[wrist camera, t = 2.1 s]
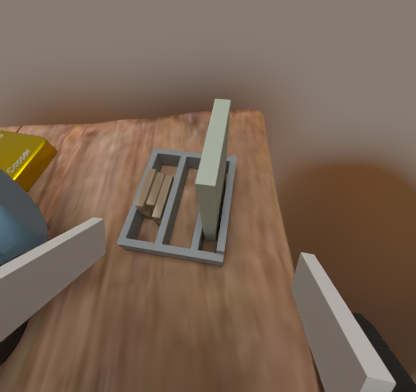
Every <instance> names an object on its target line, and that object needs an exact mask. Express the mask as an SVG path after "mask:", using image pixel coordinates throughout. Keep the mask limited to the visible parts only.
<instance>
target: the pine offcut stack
mask: <svg viewBox="0 0 416 392" xmlns="http://www.w3.org/2000/svg"><path fill="white" fill-rule="evenodd" d="M173 181H174V178H173V176H170V175H165V173H159V172H157V170H156V169H150V168H149V169H148V171H147V174H146V177H145V179H144V182H143V184H142V187H141V190H140V192H139V195H138V197H137V200H136V203H135V207H136V208H137V209H138V210H139V211H140V213H141V214H142V215H143V216H144V217H145V218H148V219H154V220H155V222H156V223H157V224H158V225H160V224H161V221H162V218H163V214H164V211H165V208H166V204H167V201H168V198H169V194H170V191H171V188H172V184H173Z"/></svg>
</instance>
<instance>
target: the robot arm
mask: <svg viewBox="0 0 416 392" xmlns="http://www.w3.org/2000/svg"><path fill="white" fill-rule="evenodd" d="M47 238H48V228H47V224H46V221H45V219H44V217H43V215H42V213H41V212H40V210H39V208H38V207H37V206H36V204H35V203H34V201H33V200H32V199H31V198H30V196H29V195H28V194H27V193H26V192H25V191H24V189H23V188H22V187H21V186H20V185H19V184H18V183H17V182H16V181H15V180H14V179H12V178H11V177H10V176H9V175H8V174H7V173H5V172H4V171H3V170H2V169H0V365H1V364H2V363H3V362H4V361H5V359H6V358H7V357H8V356H9V355H10V353H11V352H12V351H13V349H14V348H15V346H16V345H17V343H18V341H19V340H20V338H21V336H22V334H23V332H24V329H25V327H26V324H27V321H28V319H29V318H30V317H31V316H32V315H33V314H35V313H36V312H37V311H38V310H39V309H40V308H42V307H43V306H44V305H45V304H46V303H48V302H49V301H50V300H51V299H52V298H54V297H55V296H56V295H57V294H58V293H59V292H61V291H62V290H63V289H64V288H65V287H67V286H68V285H69V284H70V283H71V282H72V281H74V280H75V279H76V278H77V277H78V276H80V275H81V274H82V273H83V272H84V271H86V270H87V269H88V268H89V267H90V266H91V265H93V264H94V263H95V262H96V261H97V260H99V259H100V258H101V257H102V256H103V255H104V254H106V250H105V232H104V219H101V218H95V217H93V218H91V219H89V220H87V221H86V222H84V223H82V224H80V225H78V226H76V227H74V228H72V229H70V230H69V231H67V232H65V233H63V234H61V235H59V236H57V237H55V238H53V239H51V240H50V241H48V242H46V241H47ZM291 291H292V294H293V297H294V300H295V303H296V306H297V309H298V312H299V315H300V318H301V321H302V324H303V327H304V330H305V333H306V336H307V339H308V342H309V345H310V348H311V351H312V354H313V357H314V360H315V363H316V366H317V369H318V371H319V375H320V377H321V380H322V383H323V386H324V389H325V392H416V385H415V383H414V382H413V380H412V379H411V378H410V376H409V375H408V373H407V372H406V371H405V369H404V368H403V366H402V365H401V364H400V362H399V361H398V359H397V358H396V357H395V355H394V354H393V353H392V351H390V348H389V347H388V345H387V344H386V343H385V341H384V340H382V337H381V336H380V334H379V333H378V332H377V330H376V329H375V327H374V326H373V325H372V324H371V323H370V322H369V321H368V320H367V319H366V318H364V317H363V316H362V315H361V314H358V313H353V312H350V310H349V309H348V307H347V306H346V304H345V302H344V301H343V299H342V298H341V296H340V295H339V293H338V291H337V290H336V288H335V287H334V285H333V284H332V282H331V281H330V279H329V278H328V276H327V274H326V273H325V271H324V270H323V268H322V266H321V265H320V263H319V262H318V260H317V259H316V257H315V256H314V254H307V253H301V254H300V257H299V261H298V265H297V268H296V272H295V275H294V279H293V283H292V286H291Z"/></svg>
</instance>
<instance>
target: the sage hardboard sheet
mask: <svg viewBox="0 0 416 392" xmlns="http://www.w3.org/2000/svg"><path fill="white" fill-rule="evenodd" d="M230 103H231V100H224V99H215V102H214V106H213V110H212V115H211V119H210V123H209V127H208V131H207V136H206V140H205V144H204V148H203V152H202V157H201V161H200V165H199V169H198V173H197V178H196V182H195V186H196V192H197V197H198V203H199V209H200V214H201V220H202V226H203V232H204V237H205V240H207V241H213V242H216V236H217V229H218V223H219V216H220V210H221V203H222V197H223V191H224V184H225V171H226V158H227V144H228V130H229V117H230Z"/></svg>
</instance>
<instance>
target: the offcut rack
mask: <svg viewBox="0 0 416 392" xmlns="http://www.w3.org/2000/svg"><path fill="white" fill-rule="evenodd" d="M201 157H202V154H200V153H191V152H182V151H173V150H164V149H155V148H154V149H153V152H152V155H151V157H150V160H149V162H148V165H147V167H146V170H145V172H144V175H143V177H142V180H141V183H140V185H139V188H138V190H137V193H136V195H135V198H134V200H133V203H132V205H131V208H130V211H129V213H128V216H127V218H126V221H125V223H124V226H123V228H122V231H121V233H120V236H119V239H118V241H117V245H119V246H121V247H122V248H124V249H126V250H131V251H137V252H143V253H149V254H154V255H160V256H166V257H172V258H177V259H183V260H189V261H195V262H200V263H206V264H212V265H218V266H222V264H223V257H224V250H225V243H226V235H227V227H228V220H229V212H230V204H231V197H232V189H233V181H234V174H235V166H236V159H237V156H235V155H231V157H227V158H226V171H225V172H227V173H228V177H227V184H226V190H225V197H224V204H223V210H222V217H221V224H220V230H219V237H218V244H217V250H216V253H212V252H206V251H200V250H201V244H202V239H203V234H204V232H203V226H202V220H201V214H200V209H199V211H198V216H197V220H196V225H195V230H194V235H193V239H192V244H191V249H188V248H182V247H176V246H170V245H168V244H169V241H170V237H171V233H172V229H173V226H174V222H175V218H176V214H177V211H178V207H179V203H180V199H181V196H182V192H183V188H184V184H185V181H186V177H187V173H188V169H189V168H194V169H199V165H200V161H201ZM162 165H169V166H177V167H178V168H177V171H176V174H175V178H174V181H173V184H172V188H171V191H170V194H169V198H168V201H167V204H166V208H165V211H164V214H163V218H162V221H161V224H160V228H159V231H158V234H157V238H156V241H155V243H152V242H146V241H140V240H136V238H137V235H138V232H139V229H140V226H141V224H142V221H143V218H144V216H143V215H142V214H141V213H140V211H139V210H138V209H137V208H136V207H135V203H136V200H137V197H138V195H139V192H140V190H141V187H142V184H143V182H144V179H145V177H146V174H147V171H148V169H149V168H150V169H156V170H157V172H160V169H161V166H162Z"/></svg>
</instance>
